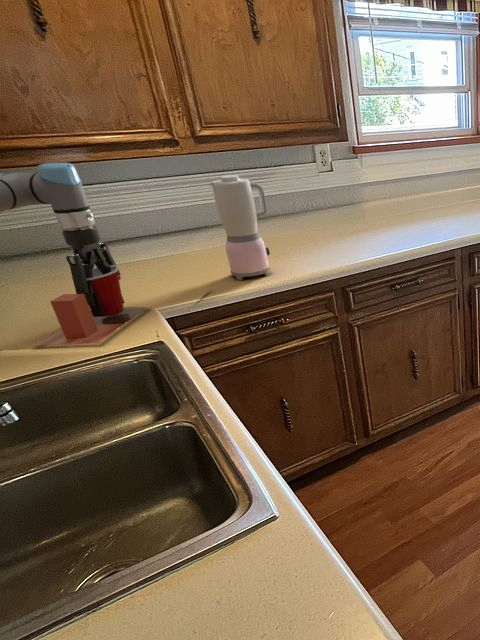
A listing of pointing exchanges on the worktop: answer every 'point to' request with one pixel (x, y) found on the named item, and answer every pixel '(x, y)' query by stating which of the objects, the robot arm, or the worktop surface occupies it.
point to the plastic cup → (108, 290)
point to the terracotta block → (74, 315)
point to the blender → (241, 225)
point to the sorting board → (104, 326)
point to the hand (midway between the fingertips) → (109, 309)
